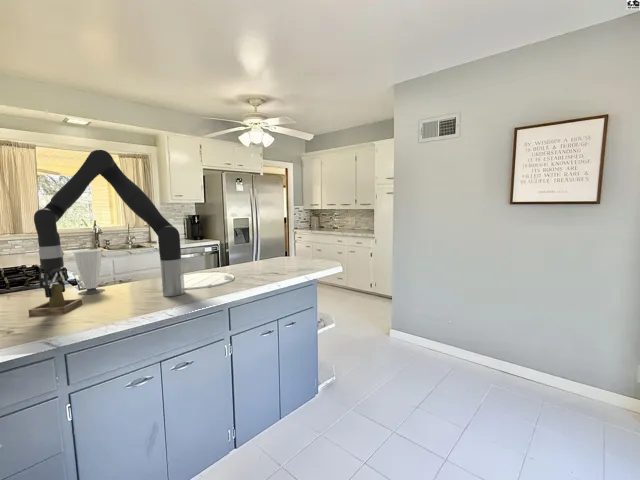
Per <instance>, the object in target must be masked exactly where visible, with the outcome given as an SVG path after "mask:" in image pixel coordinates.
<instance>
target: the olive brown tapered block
mask: <svg viewBox="0 0 640 480" xmlns="http://www.w3.org/2000/svg"><path fill="white" fill-rule="evenodd" d="M51 288H52V294H53V296H52V297H48V298H49V300H48V301H49V308H55V307H64V306H66V304H65V300H66V299H65V297H64V294H63V293H64V292H62V290H63V285H62V284H59V283H53V284H52V287H51Z"/></svg>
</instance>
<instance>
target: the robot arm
mask: <svg viewBox="0 0 640 480" xmlns="http://www.w3.org/2000/svg"><path fill="white" fill-rule="evenodd" d="M98 176H101V177H102V178H103V179H104V180H106V182H108V183H109V184H110V185H111V187H112V188H113V189H114V191H115V192H116V194H117V195H118V196H119V198H120V199H121V200H122V202H123V203H124V204H125V205H126V206H127V207H128V208H129V209H130V210H131V211H132V212H133V213H134V214H135V215H136V216H137V217H139V218H140V219H141V220H142V221H144V222H145V223H146V224H147V225H148V226H149V227H150V228H151V229H152V231H153V232H154V233H155V234H156V236H157V239H158V252H159V254H158V255H159V258H160V259H159V260H160V261H159V262H160V274H161V283H162V285H161V287H162V295H163V296H164V297H177V296H180V295H181V296H182V295H183V294H184V293H185V291H186V289H185V288H184V275H185V274H184V272H183V268H182V267H183V266H182V265H183V263H182V250H181V249H182V248H181V238H180V237H181V236H180V235H181V234H180V232H179V230H178V229H177V228H176V227H175V226H174V225H173V224H171V223H170V222H169V221H168V219H166V218H165V217H164V216H163V215H162V213H160V211H159V209H158V208H157V207H156V206H155V204H154V203H153V201H152V200H151V199H150V198H149V196H147V194H146V193H145V191H143V190H142V189H141V188H140V187H139V186H138V185H137V184H135V182H133V181H132V180H131V179H130V178H128V177H127V176H126V175H125V173H124V172H123V171H122V169H121V168H120V167H119V166H118V164H117V163H116V161H115V159H114V158H113V156H112V154H110V153H109V151H107V150H105V149H99V148H98V149H94V150H92V151H91V152H90V153H89V154H88V156H87V158H86V159H85V161H84V162H83V164H81V166H80V168H79V169H77V171H76V172H75V173H74V175H72V177H70V179H69V180H68V181H67V182H66V183H65V184H64V185H63V186H62V187H61V188H60V189H59V190H57V192H56V193H55V194H54V195H53V196H52V197H51V199H50V201H48V203H47V204H46V206H44V207H43V208H40V209H38V210H36V211H35V212H34V214H33V223H34V227H35V231H36V234H37V240H38V241H37V242H38V256H39V263H40V269H41V270H43V271H44V273H43V272H42V273H41V272H40V273H38V280H39V283H38V284H39V288H40V289H43V290H44V295H45V298H49V297H52V296H53V294H52V288H51V287H52V285H53V284H55V282H56V283H57V284H62V285H63V290H62V293H65V292H66V285H65V283H67V281H68V279H69V278H68V273H67V267H64V265H65V263H64V256H63V255H64V254H63V249H62V246H61V245H62V244H61V238H60V233H59V232H58V229H57V228H58V227H57V223H58V222H59V220H60V219H61V218H62V217H63V216H64V215H65V213H66V212H67V210H69V209H70V208H71V207H72V206H73V205H74V204H75V203H76V202H77V201H78V200H79V198H80V197H81V196H82V195H83V194H84V193H85V191H86V190H87V188H88V187H89V186H90V184H91V183H92V181H94V180H95V179H96V178H97V177H98Z"/></svg>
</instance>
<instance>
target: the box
mask: <svg viewBox="0 0 640 480" xmlns="http://www.w3.org/2000/svg"><path fill="white" fill-rule="evenodd" d="M64 300H65V304H66V306H64V307H55V308H49V300H48V301H46V302H44V303H41V304H39V305H36V306H33V308H30V309H28V316H29V317H33V316H34V317H35V316H50V315H61V314H62V315H63V314H67V313H68V312H71V311H72V310H74V309H76V308H79V307H80V306H82V305H83V298H73V299H71V298H70V299H64Z"/></svg>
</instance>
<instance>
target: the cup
mask: <svg viewBox="0 0 640 480" xmlns="http://www.w3.org/2000/svg"><path fill="white" fill-rule="evenodd" d="M73 256H74V259H75V263H76V267H77V270H78V274H79V275H80V279H81V281H82V283H83V286H84V288H85V289H86V290H83V291H81V292H78V293H77V294H78V295H79V296H88V295H90V296H92V295H96V294H101V293H103V291H104V292H105V291H106V290H105V289H103V288H97V287H98V283H99V278H100V274H101V273H100V272H101V263H102V261H101V260H102V259H101V258H102V249H101V248H96V249H94V248H92V249H82V250H81V249H79V250H74V251H73ZM100 292H101V293H100Z"/></svg>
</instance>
